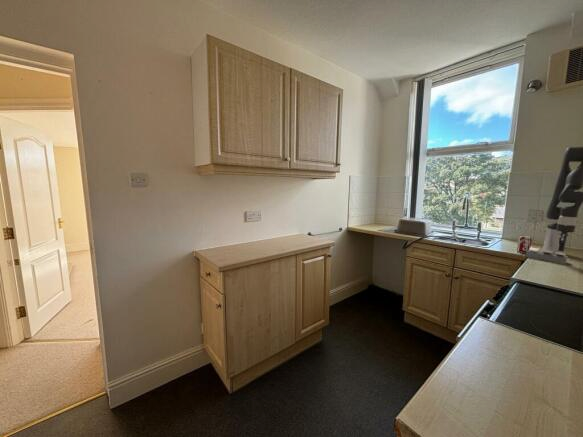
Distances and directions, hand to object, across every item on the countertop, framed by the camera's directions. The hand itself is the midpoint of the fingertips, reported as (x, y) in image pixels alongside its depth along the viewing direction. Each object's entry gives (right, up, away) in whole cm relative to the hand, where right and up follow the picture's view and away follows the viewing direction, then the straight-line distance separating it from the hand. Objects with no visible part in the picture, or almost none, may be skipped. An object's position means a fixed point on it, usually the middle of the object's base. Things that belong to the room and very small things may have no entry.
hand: (560, 251), depth 151 cm
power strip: (-2, -7, +7) cm, 10 cm away
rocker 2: (+2, -2, +2) cm, 3 cm away
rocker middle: (-2, -1, +6) cm, 7 cm away
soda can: (-2, -4, +22) cm, 23 cm away
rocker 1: (-6, 0, +11) cm, 12 cm away
